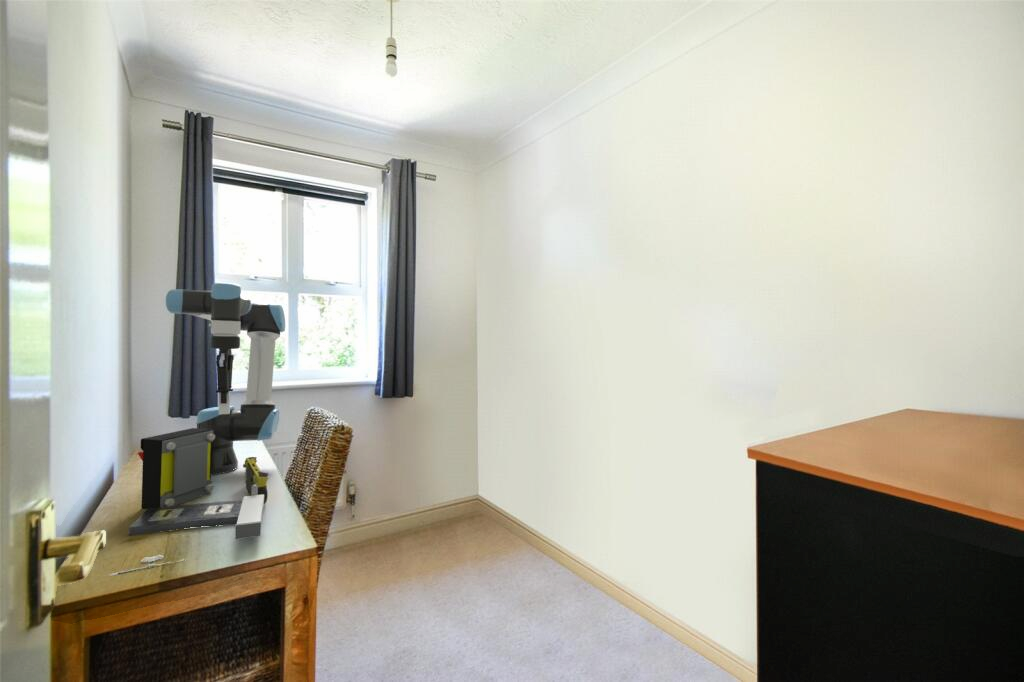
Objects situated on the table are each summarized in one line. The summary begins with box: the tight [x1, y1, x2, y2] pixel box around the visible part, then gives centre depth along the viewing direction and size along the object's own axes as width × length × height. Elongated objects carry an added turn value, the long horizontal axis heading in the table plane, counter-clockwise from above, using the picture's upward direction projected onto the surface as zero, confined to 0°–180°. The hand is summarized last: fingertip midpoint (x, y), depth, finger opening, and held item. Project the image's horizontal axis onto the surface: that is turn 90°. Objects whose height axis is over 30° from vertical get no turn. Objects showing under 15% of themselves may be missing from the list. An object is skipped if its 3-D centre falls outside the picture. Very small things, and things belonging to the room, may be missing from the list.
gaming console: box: [242, 456, 269, 505], centre depth 147 cm, size 26×4×10 cm, turn 36°
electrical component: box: [137, 427, 215, 510], centre depth 142 cm, size 18×10×20 cm, turn 168°
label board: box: [128, 484, 258, 536], centre depth 128 cm, size 14×27×8 cm, turn 112°
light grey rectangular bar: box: [234, 494, 265, 540], centre depth 121 cm, size 22×5×3 cm, turn 26°
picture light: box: [108, 554, 185, 577], centre depth 102 cm, size 14×4×2 cm, turn 125°
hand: (224, 413), depth 141 cm, fingers closed
